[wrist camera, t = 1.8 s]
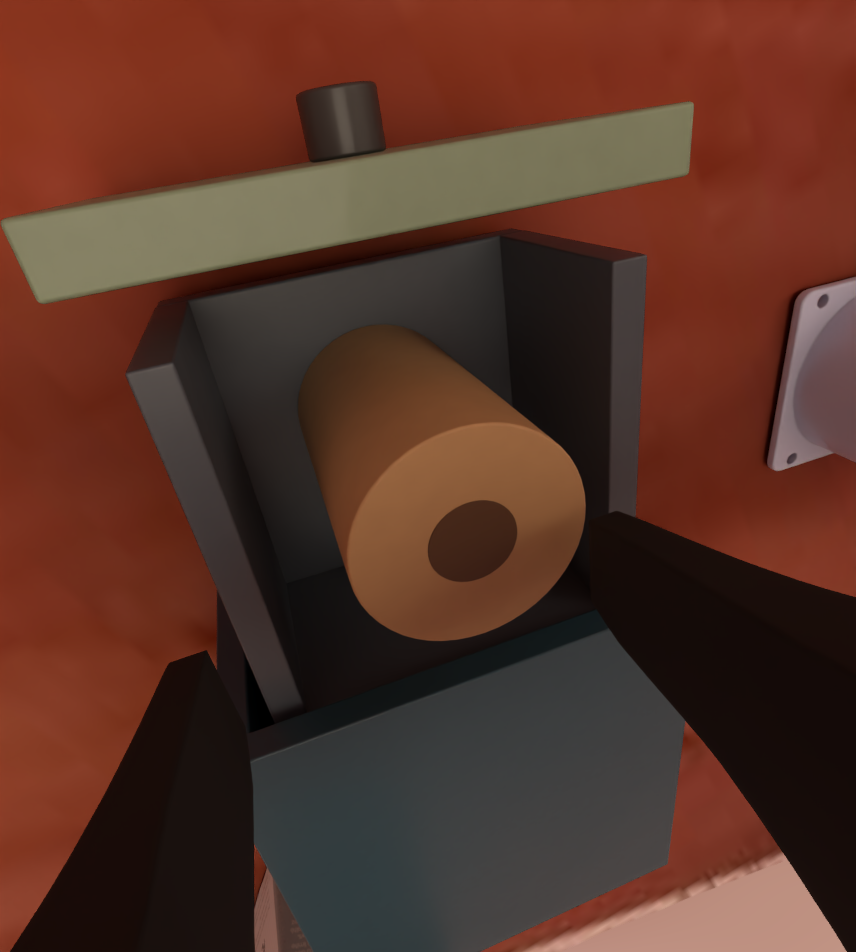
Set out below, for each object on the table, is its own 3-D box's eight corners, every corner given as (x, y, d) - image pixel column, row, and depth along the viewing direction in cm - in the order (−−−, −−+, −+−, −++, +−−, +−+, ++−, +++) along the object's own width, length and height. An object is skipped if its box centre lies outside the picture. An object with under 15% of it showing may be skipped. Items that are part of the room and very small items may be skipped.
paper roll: (445, 307, 17) (586, 393, 10) (464, 454, 19) (587, 598, 13) (277, 345, 16) (318, 467, 9) (319, 495, 18) (374, 673, 12)
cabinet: (216, 555, 20) (215, 774, 13) (546, 458, 23) (701, 595, 15) (312, 786, 27) (346, 1014, 20) (557, 692, 29) (668, 864, 22)
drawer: (65, 141, 13) (-52, 119, 7) (522, 72, 15) (702, 15, 10) (246, 594, 20) (257, 765, 14) (544, 502, 22) (657, 616, 17)
